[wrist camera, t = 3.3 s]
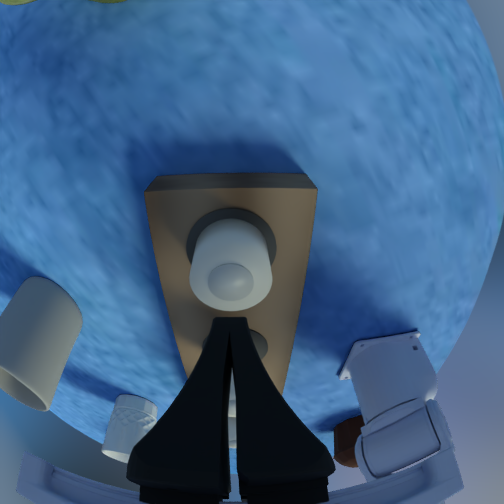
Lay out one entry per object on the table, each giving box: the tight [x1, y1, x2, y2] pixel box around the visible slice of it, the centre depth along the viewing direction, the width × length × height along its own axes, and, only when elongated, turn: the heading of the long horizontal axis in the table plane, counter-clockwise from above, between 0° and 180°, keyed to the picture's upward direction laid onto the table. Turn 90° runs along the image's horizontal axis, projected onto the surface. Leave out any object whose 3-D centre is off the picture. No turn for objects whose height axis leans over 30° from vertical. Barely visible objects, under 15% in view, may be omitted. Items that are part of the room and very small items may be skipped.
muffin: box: [334, 415, 365, 468], centre depth 41 cm, size 12×11×10 cm
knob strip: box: [144, 173, 318, 395], centre depth 24 cm, size 10×28×3 cm, turn 179°
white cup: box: [102, 394, 157, 463], centre depth 31 cm, size 8×8×10 cm
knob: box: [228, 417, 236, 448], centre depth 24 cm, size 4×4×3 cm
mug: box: [0, 276, 82, 411], centre depth 19 cm, size 12×8×11 cm
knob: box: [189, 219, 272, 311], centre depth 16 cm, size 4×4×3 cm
